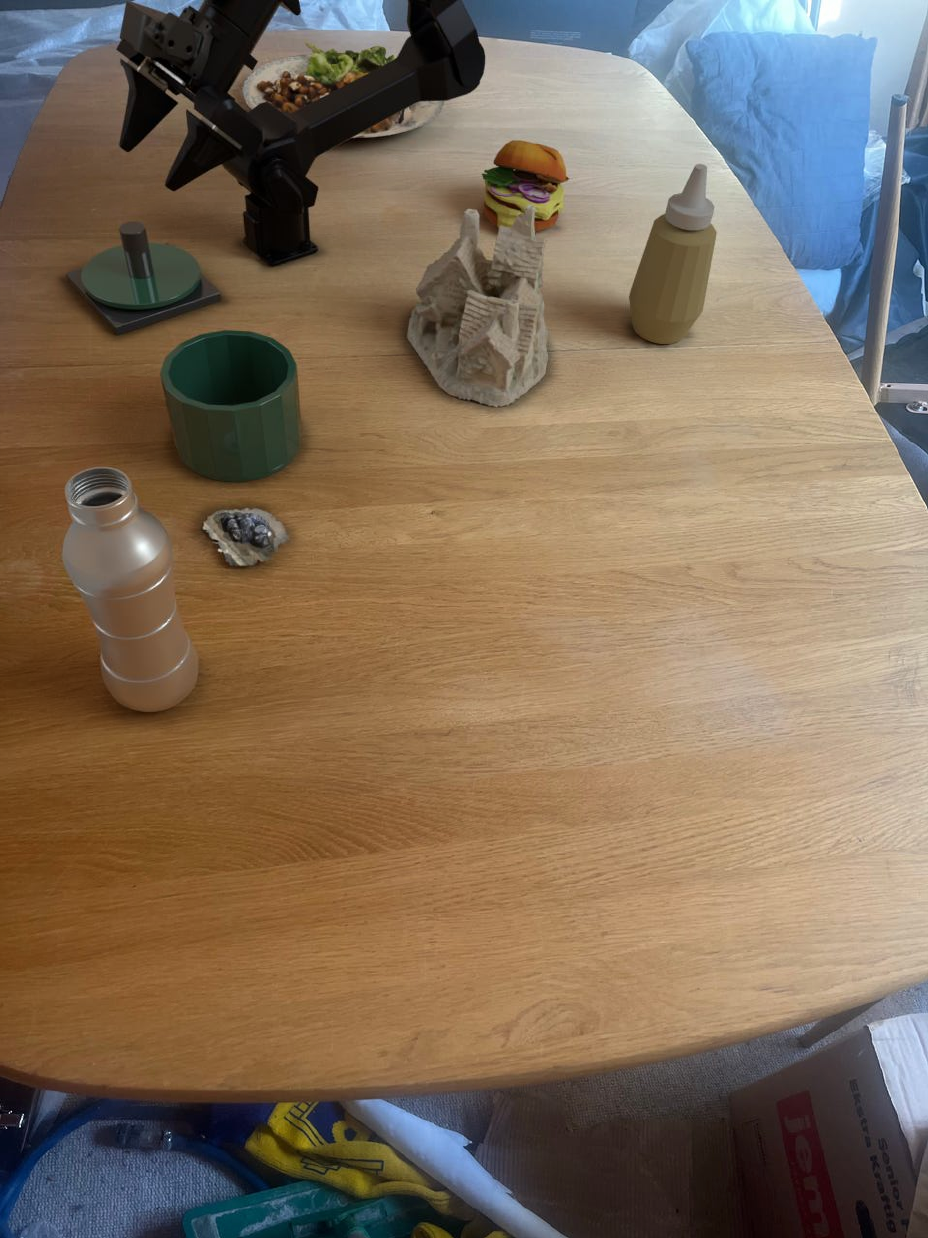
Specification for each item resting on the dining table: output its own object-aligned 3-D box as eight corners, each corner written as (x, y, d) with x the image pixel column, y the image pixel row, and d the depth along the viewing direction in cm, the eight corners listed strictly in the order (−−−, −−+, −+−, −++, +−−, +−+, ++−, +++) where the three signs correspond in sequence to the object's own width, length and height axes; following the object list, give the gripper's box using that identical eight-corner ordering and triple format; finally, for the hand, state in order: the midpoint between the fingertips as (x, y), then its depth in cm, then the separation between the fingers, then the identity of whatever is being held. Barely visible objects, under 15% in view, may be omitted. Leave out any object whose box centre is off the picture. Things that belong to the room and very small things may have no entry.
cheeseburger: (464, 226, 117) (477, 137, 111) (493, 210, 125) (506, 126, 119) (543, 246, 115) (560, 156, 109) (567, 228, 123) (584, 144, 117)
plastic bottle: (116, 653, 73) (47, 450, 57) (207, 651, 73) (163, 450, 58) (103, 725, 69) (25, 527, 53) (200, 722, 69) (150, 525, 54)
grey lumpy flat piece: (253, 581, 78) (250, 566, 77) (179, 540, 81) (175, 524, 79) (304, 534, 82) (303, 518, 81) (232, 495, 84) (229, 479, 83)
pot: (188, 398, 93) (174, 326, 86) (307, 405, 93) (302, 333, 87) (165, 479, 85) (148, 406, 79) (294, 485, 86) (288, 413, 80)
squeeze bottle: (703, 322, 107) (752, 160, 93) (683, 360, 102) (731, 195, 88) (635, 301, 109) (673, 139, 95) (612, 337, 104) (648, 172, 90)
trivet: (168, 250, 109) (167, 242, 108) (221, 300, 103) (220, 292, 103) (67, 280, 104) (64, 272, 103) (117, 335, 98) (115, 327, 97)
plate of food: (360, 54, 148) (360, 9, 143) (483, 121, 136) (487, 75, 131) (204, 96, 135) (198, 48, 130) (325, 174, 123) (323, 125, 118)
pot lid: (168, 241, 108) (158, 187, 104) (222, 292, 103) (215, 237, 98) (64, 272, 103) (49, 216, 98) (115, 327, 97) (102, 271, 93)
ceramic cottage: (436, 291, 107) (444, 161, 95) (571, 342, 104) (597, 214, 91) (366, 371, 98) (365, 239, 86) (510, 429, 95) (531, 301, 83)
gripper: (114, -69, 88) (32, 84, 92) (220, 0, 80) (125, 165, 84) (202, 11, 98) (125, 146, 102) (305, 80, 90) (217, 225, 93)
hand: (145, 168), depth 95 cm, fingers open, 9 cm apart
